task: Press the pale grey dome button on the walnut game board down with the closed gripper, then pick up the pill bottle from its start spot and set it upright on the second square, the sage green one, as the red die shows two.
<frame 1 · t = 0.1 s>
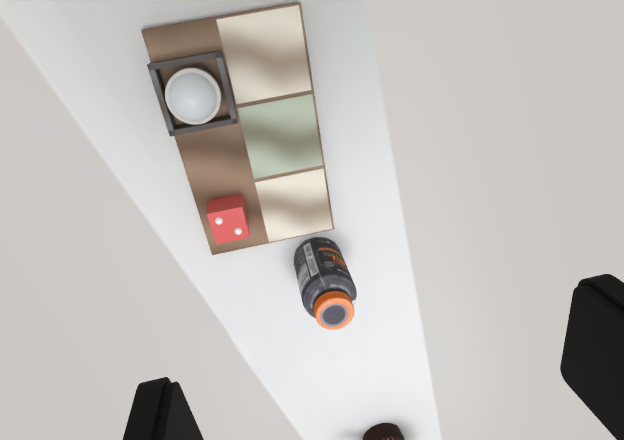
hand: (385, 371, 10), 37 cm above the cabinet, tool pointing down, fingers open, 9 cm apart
coffee mug: (376, 431, 69), on the cabinet
game board: (250, 140, 44), on the cabinet
red die: (229, 207, 47), resting on game board
pill bottle: (316, 256, 52), on the cabinet
dome: (193, 97, 37), point 4 cm above the cabinet, slide at 0.0 cm
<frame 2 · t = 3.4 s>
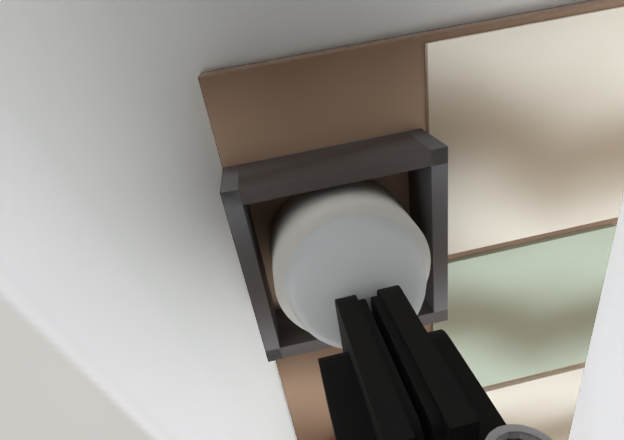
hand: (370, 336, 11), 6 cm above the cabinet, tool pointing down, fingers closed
game board: (434, 318, 19), on the cabinet
dome: (353, 276, 12), point 4 cm above the cabinet, slide at 0.5 cm, touching gripper
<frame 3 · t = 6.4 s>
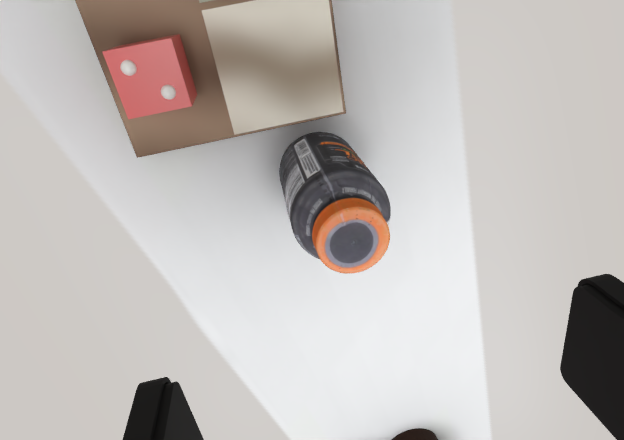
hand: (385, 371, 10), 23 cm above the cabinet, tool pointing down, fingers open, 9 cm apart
coffee mug: (404, 439, 49), on the cabinet
red die: (162, 68, 26), resting on game board
pill bottle: (317, 168, 31), on the cabinet
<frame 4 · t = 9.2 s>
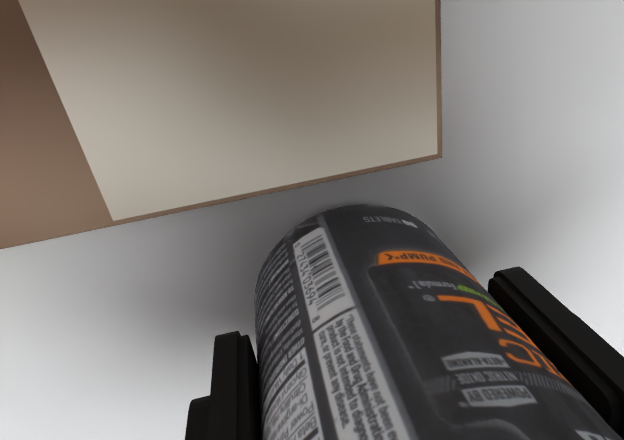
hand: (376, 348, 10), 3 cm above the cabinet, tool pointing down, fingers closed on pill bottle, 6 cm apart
pill bottle: (349, 284, 13), on the cabinet, touching gripper
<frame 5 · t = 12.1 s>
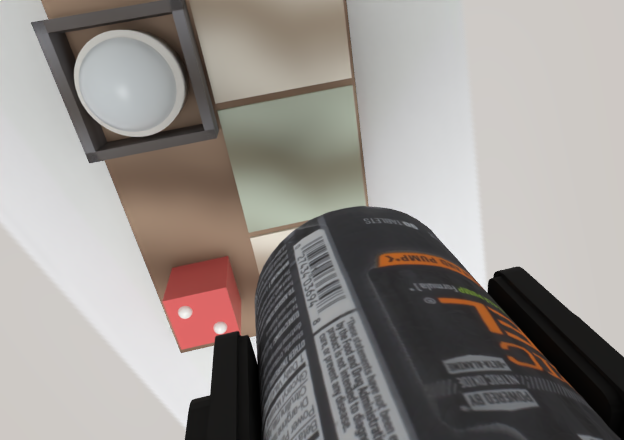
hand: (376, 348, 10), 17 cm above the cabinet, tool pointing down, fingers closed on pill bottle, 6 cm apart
game board: (243, 168, 25), on the cabinet
red die: (208, 276, 28), resting on game board
pill bottle: (349, 285, 13), point 14 cm above the cabinet, touching gripper
dome: (130, 86, 19), point 3 cm above the cabinet, slide at 0.9 cm
when the fingers open (5 cm above the cabinet, at t = 15.1 s): pill bottle stays where it is, resting on game board.
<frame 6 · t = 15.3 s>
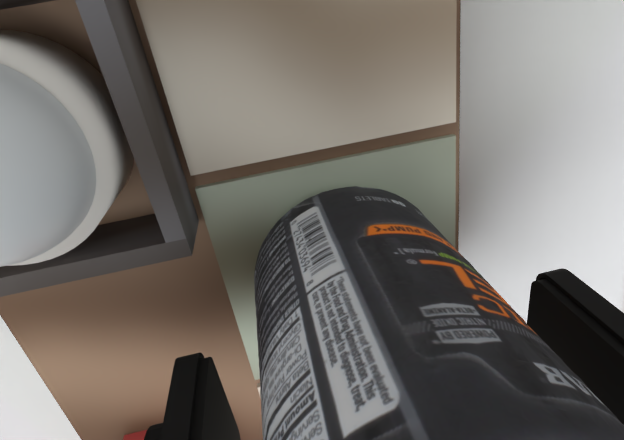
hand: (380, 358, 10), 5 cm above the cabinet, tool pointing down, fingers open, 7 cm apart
game board: (245, 272, 14), on the cabinet
red die: (189, 430, 17), resting on game board
pill bottle: (343, 263, 14), point 1 cm above the cabinet, touching game board
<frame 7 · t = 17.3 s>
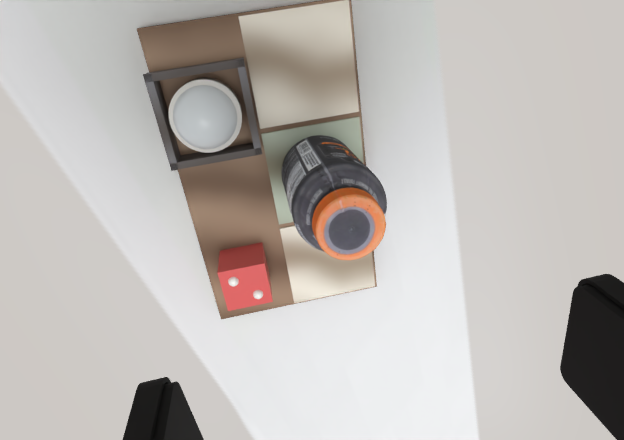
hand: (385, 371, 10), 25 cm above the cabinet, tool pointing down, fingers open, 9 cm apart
game board: (276, 175, 34), on the cabinet
red die: (245, 259, 36), resting on game board
pill bottle: (317, 170, 33), point 1 cm above the cabinet, touching game board
dome: (205, 117, 28), point 3 cm above the cabinet, slide at 0.9 cm
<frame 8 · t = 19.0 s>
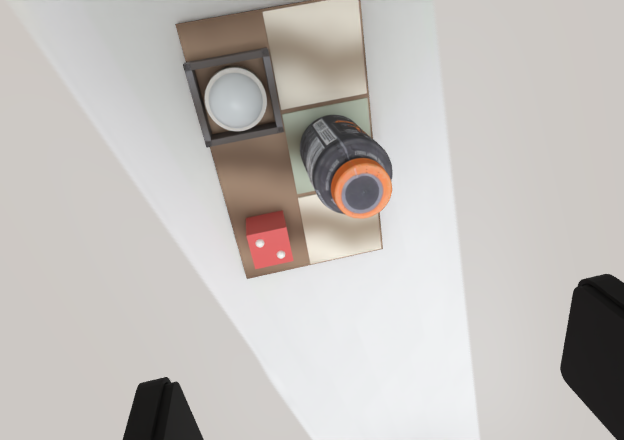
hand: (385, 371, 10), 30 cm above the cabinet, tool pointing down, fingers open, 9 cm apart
game board: (294, 151, 38), on the cabinet
red die: (267, 225, 41), resting on game board
pill bottle: (330, 145, 38), point 1 cm above the cabinet, touching game board
dome: (236, 100, 32), point 3 cm above the cabinet, slide at 0.9 cm
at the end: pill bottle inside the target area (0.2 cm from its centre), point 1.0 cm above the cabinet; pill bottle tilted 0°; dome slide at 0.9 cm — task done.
